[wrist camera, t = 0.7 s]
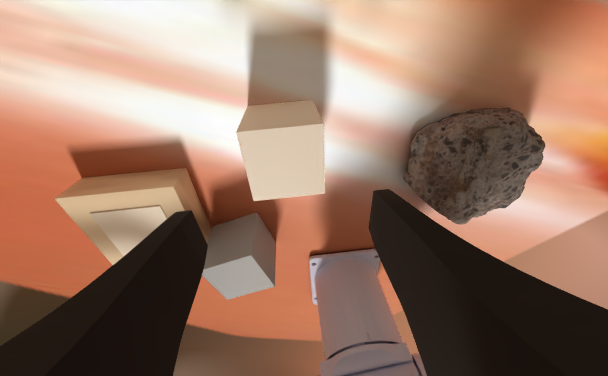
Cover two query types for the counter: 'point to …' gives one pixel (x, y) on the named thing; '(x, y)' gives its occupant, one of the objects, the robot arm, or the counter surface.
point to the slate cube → (240, 257)
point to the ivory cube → (283, 149)
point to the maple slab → (130, 207)
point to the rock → (473, 162)
